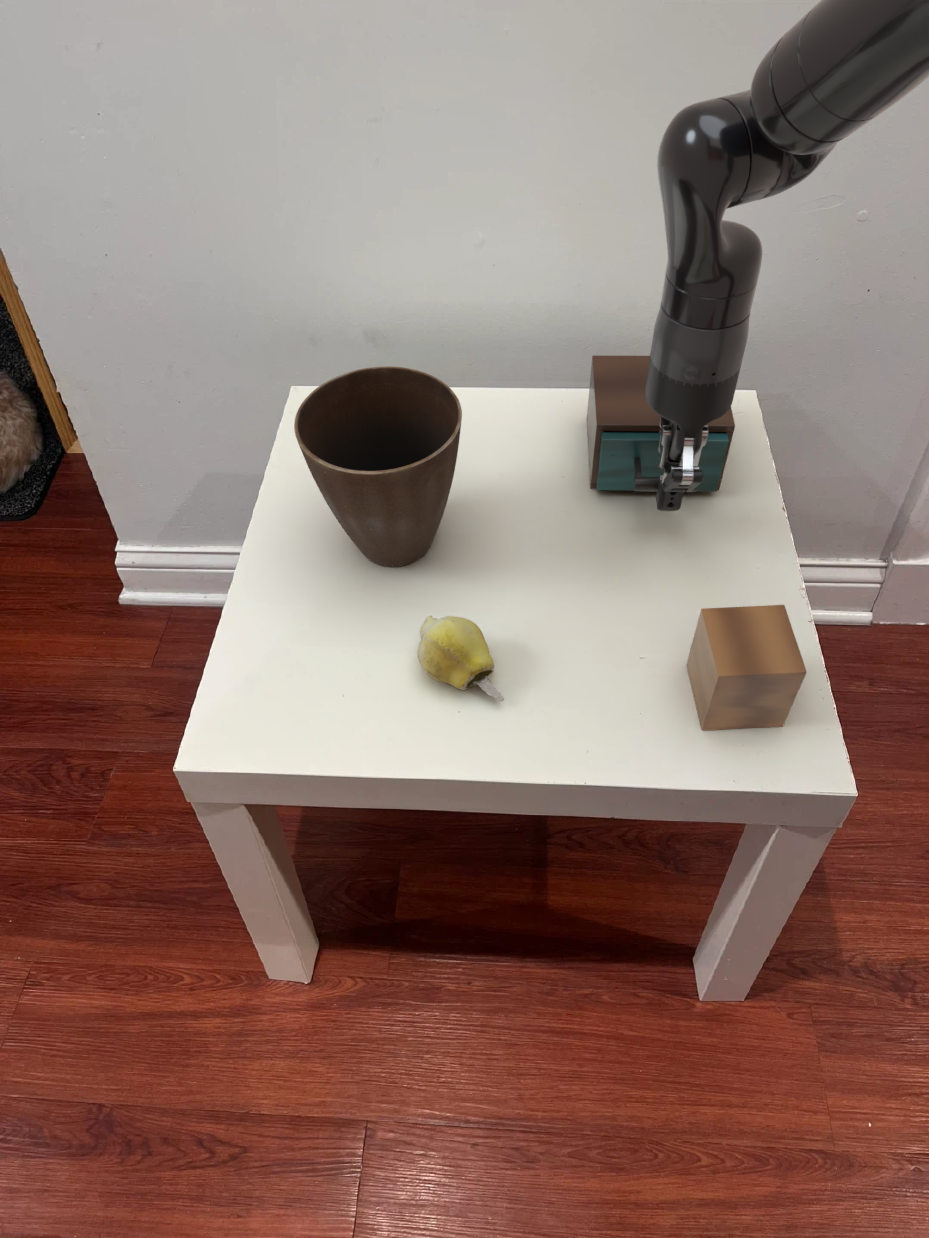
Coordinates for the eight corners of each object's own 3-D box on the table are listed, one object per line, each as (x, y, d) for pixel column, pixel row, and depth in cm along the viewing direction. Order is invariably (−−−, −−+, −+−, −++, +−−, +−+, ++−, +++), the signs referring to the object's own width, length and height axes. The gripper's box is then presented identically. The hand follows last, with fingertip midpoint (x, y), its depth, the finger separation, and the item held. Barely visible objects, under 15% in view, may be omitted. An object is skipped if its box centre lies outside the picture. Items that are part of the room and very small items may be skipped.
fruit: (479, 729, 80) (393, 662, 83) (517, 696, 84) (434, 633, 87) (498, 685, 76) (408, 616, 79) (537, 653, 80) (450, 588, 83)
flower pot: (325, 606, 89) (296, 483, 77) (317, 500, 99) (291, 375, 86) (477, 585, 90) (474, 461, 78) (455, 483, 100) (449, 357, 87)
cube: (763, 661, 83) (784, 604, 77) (783, 726, 79) (807, 672, 73) (686, 664, 84) (701, 608, 77) (701, 730, 79) (718, 676, 73)
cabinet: (719, 490, 98) (735, 426, 91) (590, 488, 98) (596, 424, 92) (706, 420, 105) (720, 355, 98) (586, 419, 106) (592, 355, 99)
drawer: (721, 521, 94) (734, 470, 88) (598, 519, 94) (604, 469, 89) (705, 427, 103) (716, 376, 98) (593, 426, 104) (598, 375, 98)
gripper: (753, 404, 72) (714, 555, 86) (732, 309, 81) (699, 461, 94) (656, 403, 73) (632, 554, 86) (645, 309, 81) (625, 460, 95)
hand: (667, 505), depth 90 cm, fingers closed
